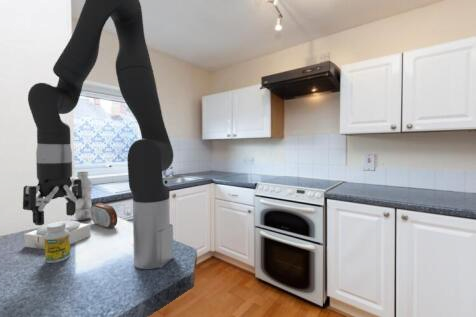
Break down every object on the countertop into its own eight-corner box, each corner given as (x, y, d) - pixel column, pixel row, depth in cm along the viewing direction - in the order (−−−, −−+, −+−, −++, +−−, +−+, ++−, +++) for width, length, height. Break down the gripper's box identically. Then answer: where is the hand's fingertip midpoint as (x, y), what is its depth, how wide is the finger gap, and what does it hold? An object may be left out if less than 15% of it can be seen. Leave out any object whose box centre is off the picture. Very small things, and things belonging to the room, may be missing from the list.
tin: (118, 228, 87) (117, 206, 86) (110, 231, 84) (109, 208, 83) (97, 221, 95) (97, 201, 94) (89, 223, 92) (88, 202, 91)
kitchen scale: (90, 235, 80) (90, 221, 79) (54, 251, 67) (53, 235, 67) (62, 232, 82) (62, 219, 82) (23, 247, 70) (22, 231, 70)
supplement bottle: (70, 252, 67) (69, 220, 67) (69, 260, 63) (68, 225, 62) (46, 257, 64) (45, 223, 64) (44, 265, 60) (42, 229, 59)
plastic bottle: (70, 221, 94) (68, 172, 93) (84, 216, 101) (83, 171, 99) (83, 222, 92) (81, 173, 91) (97, 217, 99) (95, 171, 98)
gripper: (37, 163, 54) (39, 230, 55) (88, 159, 68) (89, 213, 69) (13, 162, 56) (15, 227, 57) (68, 158, 70) (69, 211, 71)
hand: (56, 219), depth 63 cm, fingers open, 8 cm apart
